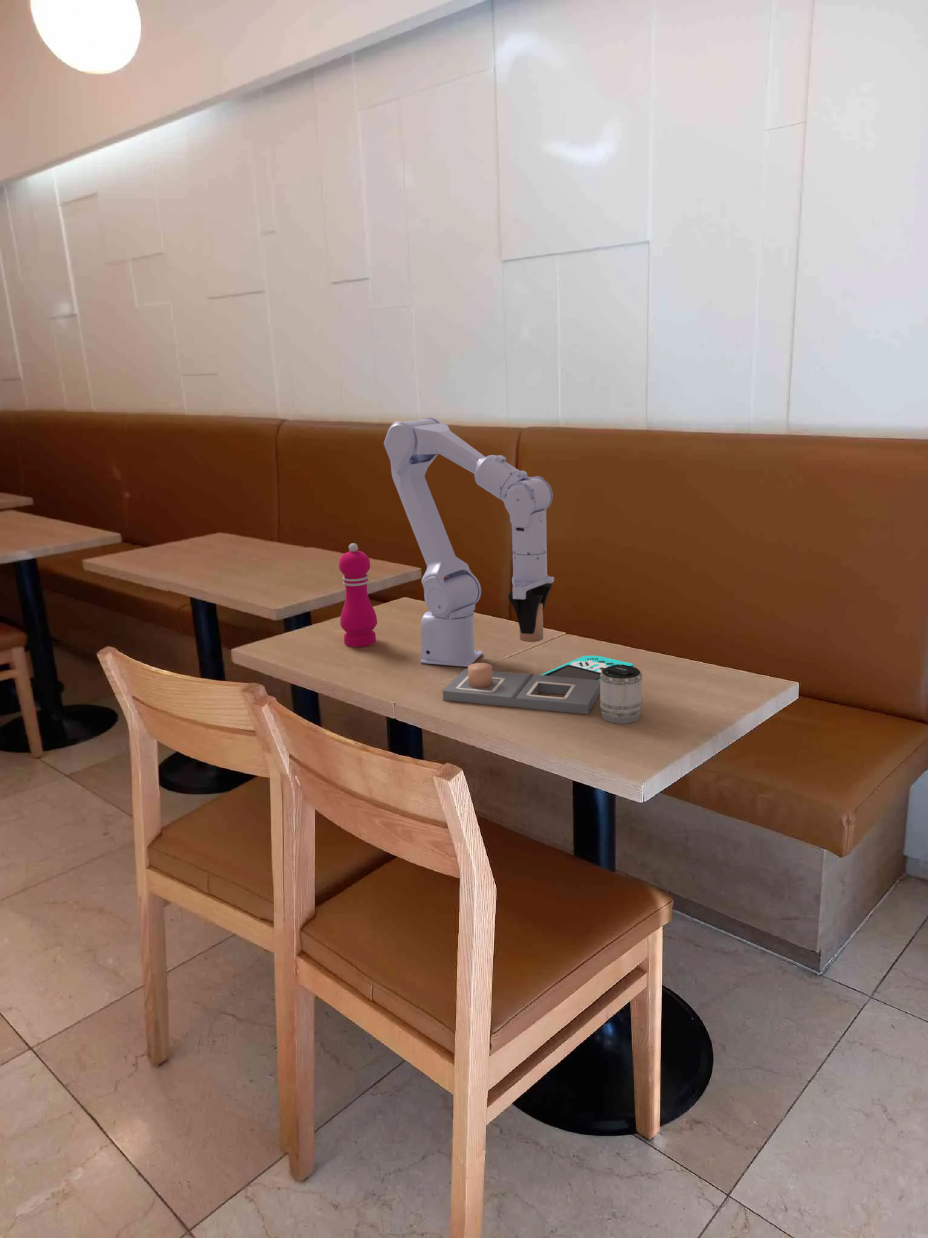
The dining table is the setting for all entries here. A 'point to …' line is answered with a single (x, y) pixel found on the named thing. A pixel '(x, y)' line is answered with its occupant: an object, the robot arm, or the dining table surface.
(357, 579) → the pepper mill
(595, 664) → the handheld game console
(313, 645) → the dining table surface
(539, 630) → the terracotta pin
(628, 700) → the camera lens
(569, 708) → the board
